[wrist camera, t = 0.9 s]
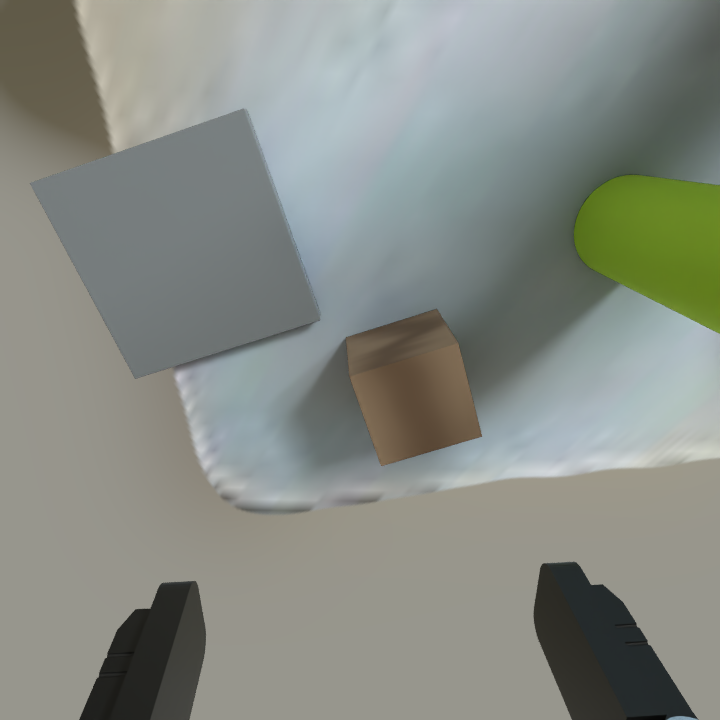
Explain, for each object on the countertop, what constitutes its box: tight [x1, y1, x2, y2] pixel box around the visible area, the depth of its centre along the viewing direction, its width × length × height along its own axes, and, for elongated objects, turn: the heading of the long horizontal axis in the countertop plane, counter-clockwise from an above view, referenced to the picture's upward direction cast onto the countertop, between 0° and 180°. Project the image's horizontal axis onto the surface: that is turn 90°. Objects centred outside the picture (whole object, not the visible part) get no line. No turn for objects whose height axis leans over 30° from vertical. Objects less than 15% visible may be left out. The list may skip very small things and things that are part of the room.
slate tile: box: [30, 109, 321, 379], centre depth 30 cm, size 12×12×1 cm
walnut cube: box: [346, 309, 482, 466], centre depth 32 cm, size 6×6×6 cm
